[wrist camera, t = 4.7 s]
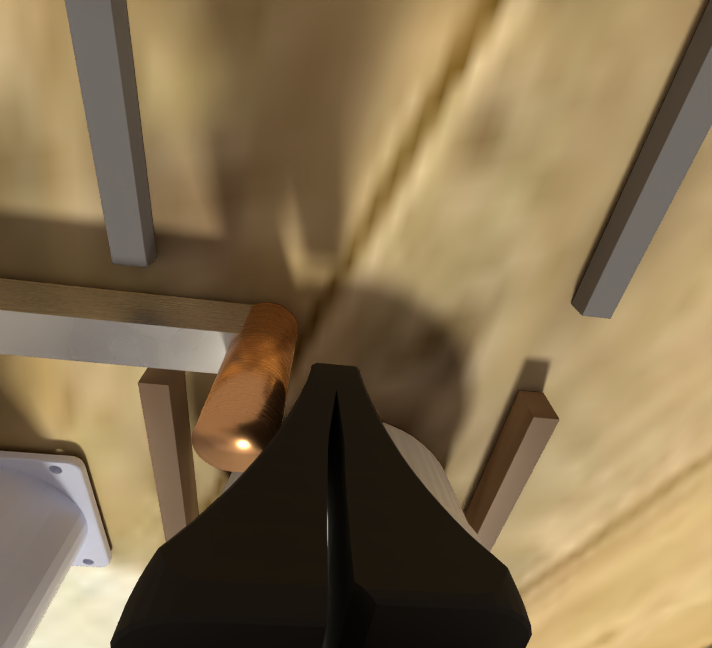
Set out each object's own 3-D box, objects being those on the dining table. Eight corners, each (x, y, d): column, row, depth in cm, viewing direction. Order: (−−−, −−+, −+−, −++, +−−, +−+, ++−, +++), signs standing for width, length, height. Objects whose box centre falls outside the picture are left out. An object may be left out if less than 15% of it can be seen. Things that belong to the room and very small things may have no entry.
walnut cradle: (184, 565, 23) (175, 595, 21) (155, 356, 15) (137, 382, 14) (454, 579, 24) (460, 608, 23) (543, 392, 17) (559, 419, 15)
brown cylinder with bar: (-78, 316, 14) (-280, 435, 10) (-105, 261, 13) (-343, 365, 8) (296, 352, 15) (275, 474, 11) (300, 304, 14) (278, 416, 10)
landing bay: (124, 253, 13) (112, 263, 13) (8, -457, 7) (-28, -514, 6) (598, 307, 15) (610, 318, 14) (871, -243, 8) (917, -271, 8)
